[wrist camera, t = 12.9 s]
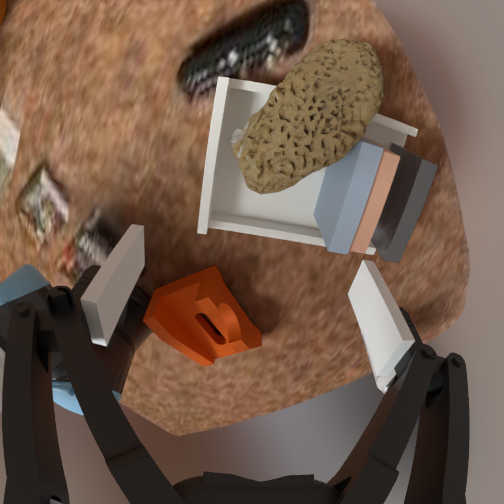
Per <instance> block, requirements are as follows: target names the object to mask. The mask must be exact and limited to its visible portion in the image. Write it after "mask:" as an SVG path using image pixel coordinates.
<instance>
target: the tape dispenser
mask: <svg viewBox="0 0 504 504" xmlns="http://www.w3.org/2000/svg"><path fill="white" fill-rule="evenodd" d="M200 313H203V314H205V315H207V317H208V318H209V319H210V320H211V321H212V323H213V324H214V325H215V326H216V328H217V329H218V330H219V331H220V333H221V334H222V336H220V335H218V334H217V333H216V332H215V331H214V330H213V329H212V327H211V326H210V325H209V324H208V323H207V321H206V320H205V319H204V318H203V316H202V315H201V314H200ZM143 321H144V322H145V323H146V325H147V326H148V327H149V328H150V329H151V330H152V331H153V332H154V333H155V334H156V335H157V336H158V337H159V338H160V339H161V340H163V341H164V342H166V343H167V344H169V345H170V346H172V347H173V348H175V349H177V350H178V351H180V352H181V353H183V354H184V355H186V356H188V357H189V358H191V359H193V360H194V361H196V362H198V363H199V364H201V365H203V366H208V365H212V364H214V360H215V359H216V358H220V357H224V356H228V355H231V354H235V353H239V352H242V351H246V350H249V349H253V348H256V347H260V346H262V333H261V332H260V330H259V329H258V327H257V326H256V325H253V324H252V322H251V321H250V319H249V318H248V317H247V315H246V314H245V312H244V311H243V309H242V308H241V307H240V305H239V304H238V302H237V301H236V299H235V298H234V296H233V295H232V294H231V292H230V291H229V289H228V288H227V286H226V285H225V283H224V282H223V276H222V275H221V273H220V272H219V270H218V269H217V267H216V266H215V265H213V266H211V267H208V268H206V269H204V270H201V271H199V272H196V273H194V274H191V275H189V276H186V277H184V278H182V279H179V280H177V281H174V282H172V283H169V284H167V285H165V286H162V287H160V288H157V289H155V291H154V293H153V296H152V298H151V301H150V303H149V306H148V308H147V311H146V313H145V316H144V318H143Z"/></svg>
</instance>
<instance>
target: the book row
mask: <svg viewBox="0 0 504 504" xmlns="http://www.w3.org/2000/svg"><path fill="white" fill-rule="evenodd" d="M399 160H400V156H399V155H397V154H395V153H393V152H392V151H390V150H388V149H387V148H385V147H383V146H381V145H379V144H378V143H376V142H374V141H372V140H370V139H368V138H364V137H363V138H362V139H360V140H359V142H358V143H357V144H356V145H355V146H354V147H353V148H352V149H351V150H350V151H348V153H347V154H346V155H345V157H344V158H342V159H341V160H340V161H338V162H336V163H334V164H332V165H330V166H328V167H326V171H325V175H324V178H323V182H322V185H321V189H320V193H319V196H318V200H317V203H316V207H315V210H314V213H313V215H314V217H315V220H316V222H317V225H318V227H319V230H320V232H321V235H322V238H323V240H324V243H325V245H326V248H327V250H328V251H329V252H335V253H341V254H348V252H349V251H354V252H360V253H366V250H367V248H368V246H369V243H370V241H371V238H372V236H373V233H374V231H375V228H376V226H377V223H378V220H379V218H380V215H381V212H382V210H383V207H384V204H385V201H386V199H387V196H388V193H389V190H390V187H391V184H392V181H393V178H394V175H395V172H396V169H397V166H398V163H399Z"/></svg>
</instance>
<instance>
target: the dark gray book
mask: <svg viewBox="0 0 504 504" xmlns="http://www.w3.org/2000/svg"><path fill="white" fill-rule="evenodd" d="M390 151H392V152H393V153H395V154H397V155H399V156H400V160H399V163H398V166H397V169H396V172H395V175H394V178H393V181H392V184H391V187H390V190H389V193H388V196H387V199H386V201H385V204H384V207H383V210H382V212H381V215H380V218H379V220H378V223H377V226H376V228H375V231H374V233H373V236H372V238H371V241H372V243H373V244H374V246H375V248H376V249H377V251H378V252H379V254H380V256H381V257H382V259H383V260H385V261H391V262H396V263H399V261H400V259H401V257H402V255H403V253H404V251H405V248H406V246H407V244H408V242H409V239H410V237H411V235H412V233H413V230H414V228H415V226H416V223H417V221H418V218H419V216H420V213H421V211H422V208H423V206H424V203H425V201H426V198H427V195H428V193H429V190H430V187H431V185H432V182H433V179H434V176H435V173H436V170H437V167H438V165H436V164H435V163H433V162H431V161H429V160H428V159H426V158H424V157H422V156H421V155H419V154H417V153H415V152H413V151H411V150H409V149H408V148H405V147H403V146H400V145H397V144H394V143H391V147H390Z"/></svg>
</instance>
